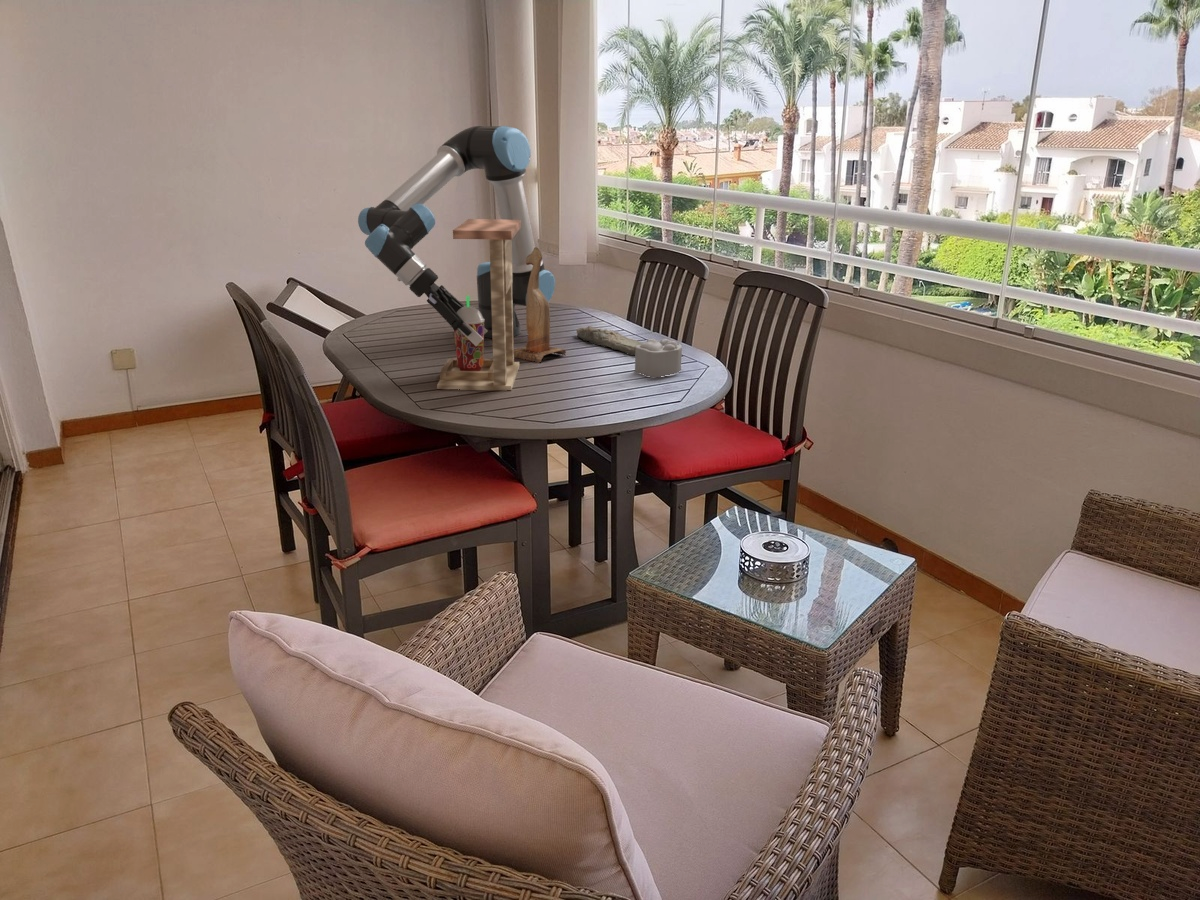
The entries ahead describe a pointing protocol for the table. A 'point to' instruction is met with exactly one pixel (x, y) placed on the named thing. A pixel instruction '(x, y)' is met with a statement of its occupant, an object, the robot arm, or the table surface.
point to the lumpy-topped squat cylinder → (658, 358)
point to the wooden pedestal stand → (502, 366)
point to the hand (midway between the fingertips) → (481, 338)
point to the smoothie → (465, 349)
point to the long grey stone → (608, 339)
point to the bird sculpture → (536, 316)
